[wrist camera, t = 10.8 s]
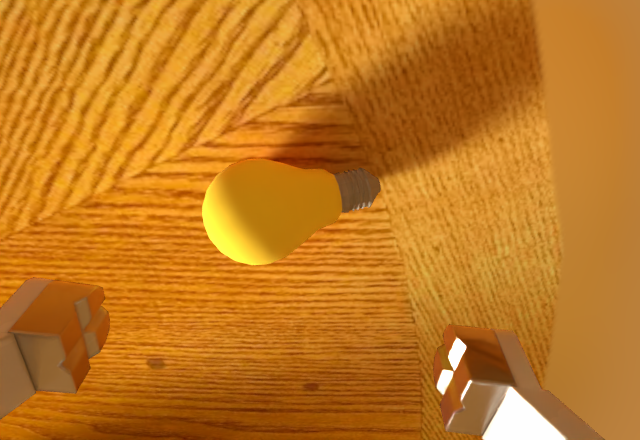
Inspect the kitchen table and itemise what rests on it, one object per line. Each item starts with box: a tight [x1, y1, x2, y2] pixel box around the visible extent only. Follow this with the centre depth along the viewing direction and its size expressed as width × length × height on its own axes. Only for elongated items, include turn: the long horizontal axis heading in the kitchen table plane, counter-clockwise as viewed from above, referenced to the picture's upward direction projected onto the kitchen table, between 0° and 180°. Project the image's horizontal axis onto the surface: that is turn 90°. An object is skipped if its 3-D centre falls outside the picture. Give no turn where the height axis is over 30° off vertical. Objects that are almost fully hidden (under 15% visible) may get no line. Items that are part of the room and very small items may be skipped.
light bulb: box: [202, 158, 380, 265], centre depth 14 cm, size 3×6×4 cm, turn 96°
